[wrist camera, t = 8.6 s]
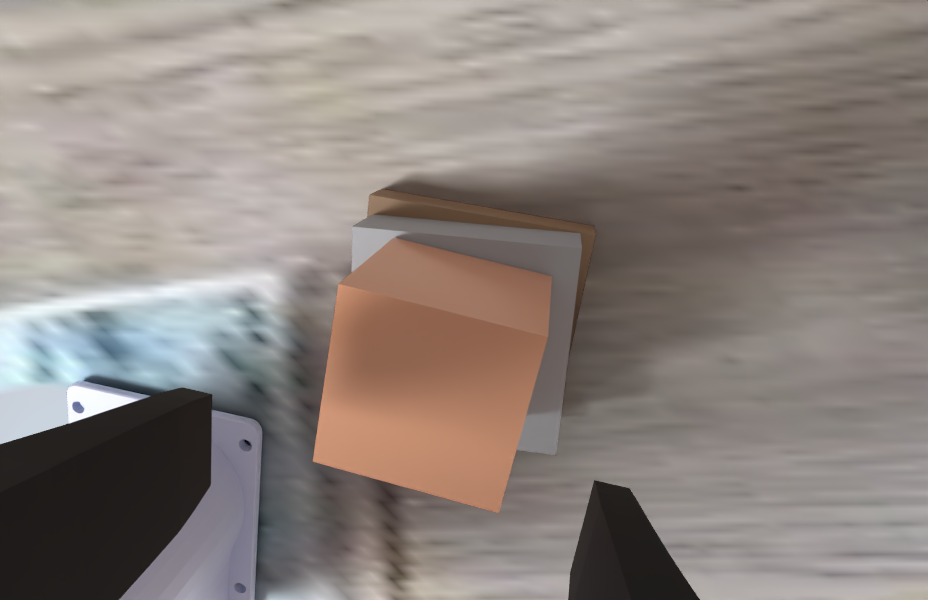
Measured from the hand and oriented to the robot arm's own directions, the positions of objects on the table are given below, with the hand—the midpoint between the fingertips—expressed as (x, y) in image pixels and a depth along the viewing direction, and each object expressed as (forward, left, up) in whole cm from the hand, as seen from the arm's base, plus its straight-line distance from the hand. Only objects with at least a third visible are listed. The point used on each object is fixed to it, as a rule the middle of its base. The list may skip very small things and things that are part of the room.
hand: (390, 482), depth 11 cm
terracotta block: (0, 0, -7) cm, 7 cm away
